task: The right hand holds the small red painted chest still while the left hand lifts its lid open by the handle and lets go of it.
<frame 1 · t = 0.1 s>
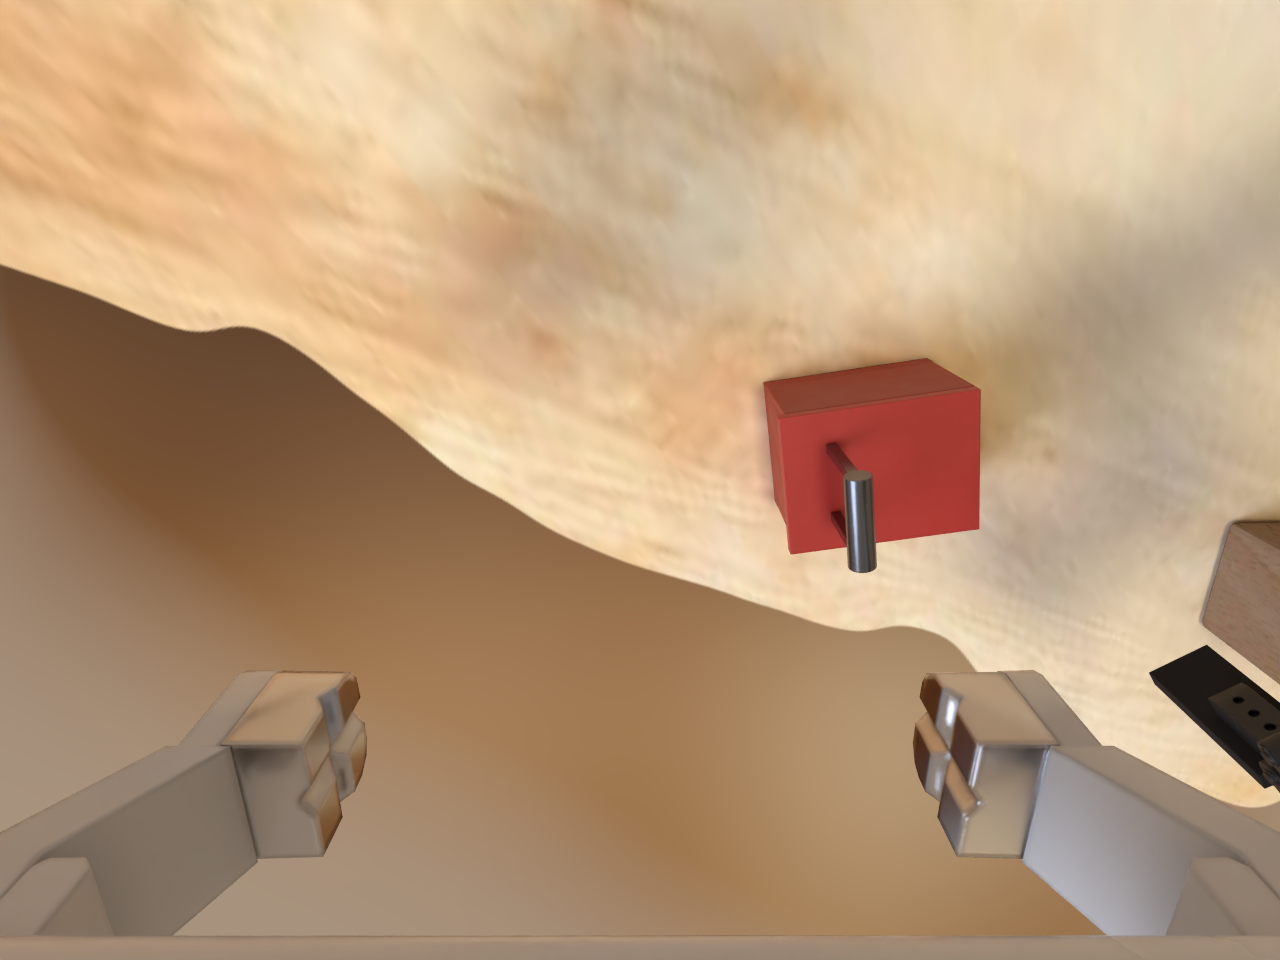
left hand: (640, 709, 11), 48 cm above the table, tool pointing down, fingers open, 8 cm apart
chest: (848, 432, 59), on the table
wooden block: (1269, 572, 64), on the table
lid: (897, 493, 47), point 13 cm above the table, hinge at 0.0°
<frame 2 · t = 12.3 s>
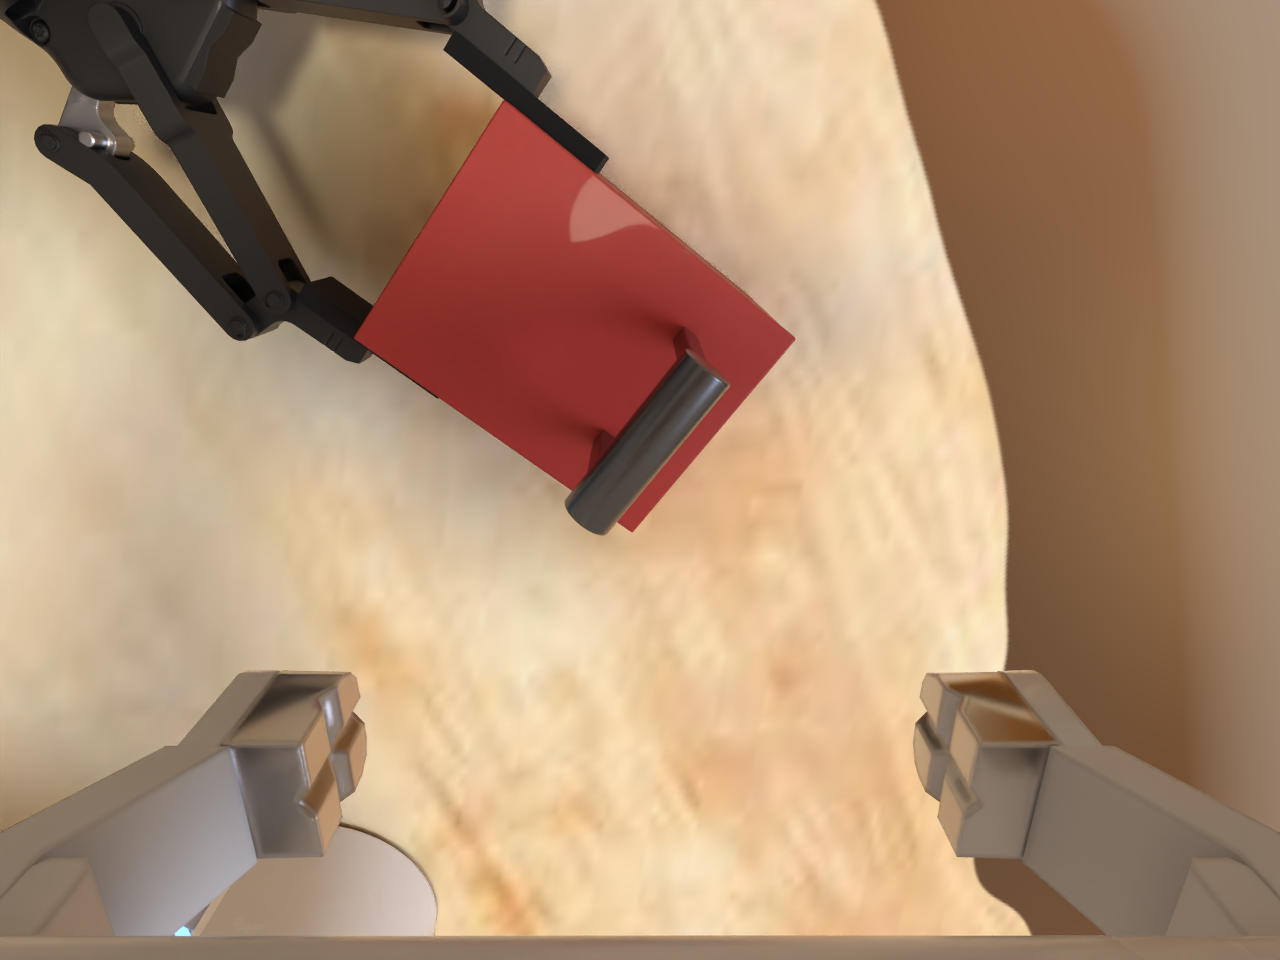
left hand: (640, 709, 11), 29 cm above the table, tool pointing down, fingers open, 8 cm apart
chest: (586, 299, 37), on the table, touching right hand
lid: (566, 356, 25), point 13 cm above the table, hinge at 0.0°
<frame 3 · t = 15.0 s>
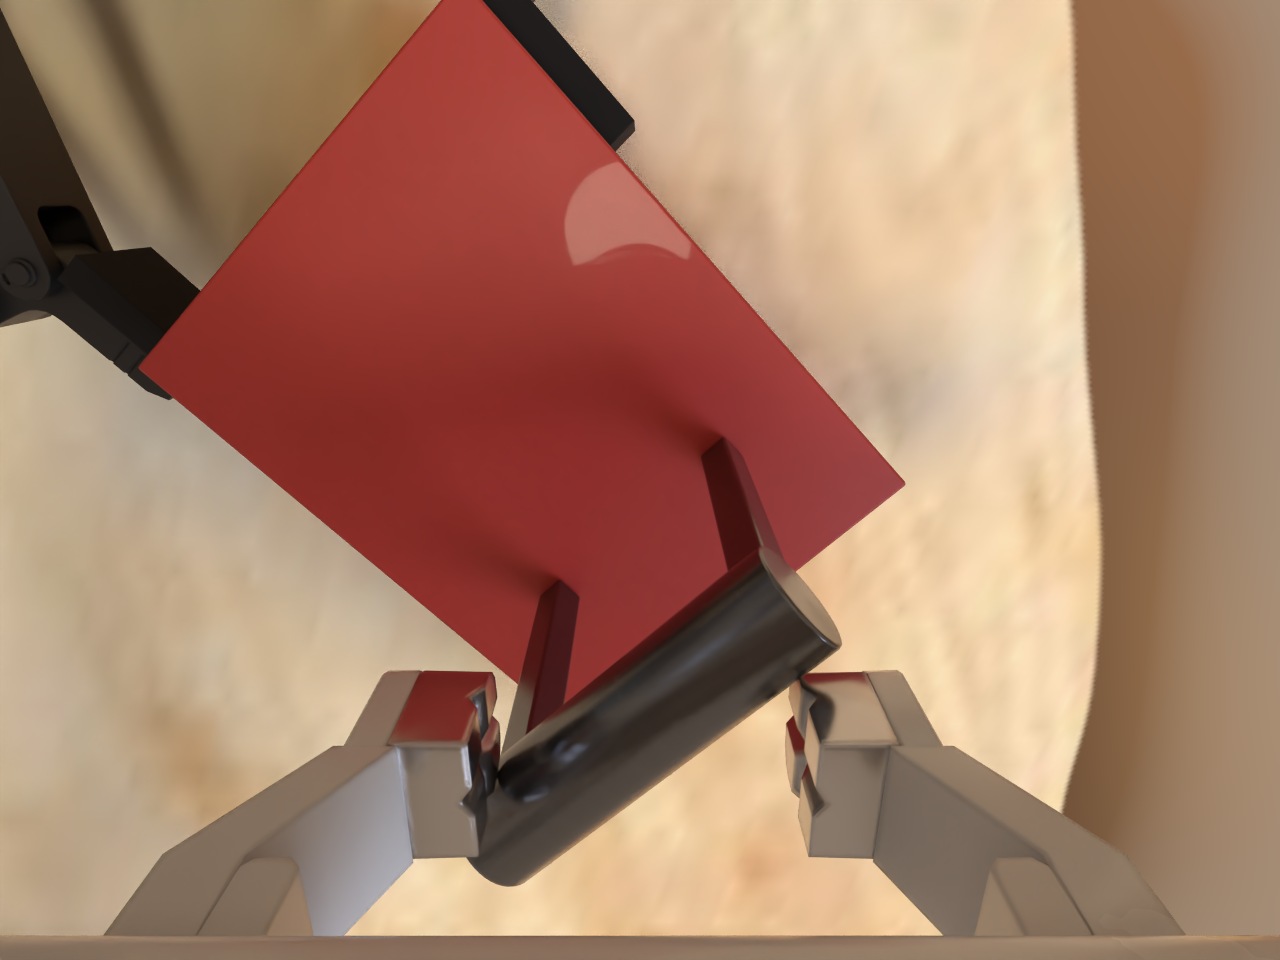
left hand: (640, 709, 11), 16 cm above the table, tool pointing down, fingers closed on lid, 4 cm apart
lid: (508, 483, 13), point 13 cm above the table, hinge at 0.1°, touching left hand
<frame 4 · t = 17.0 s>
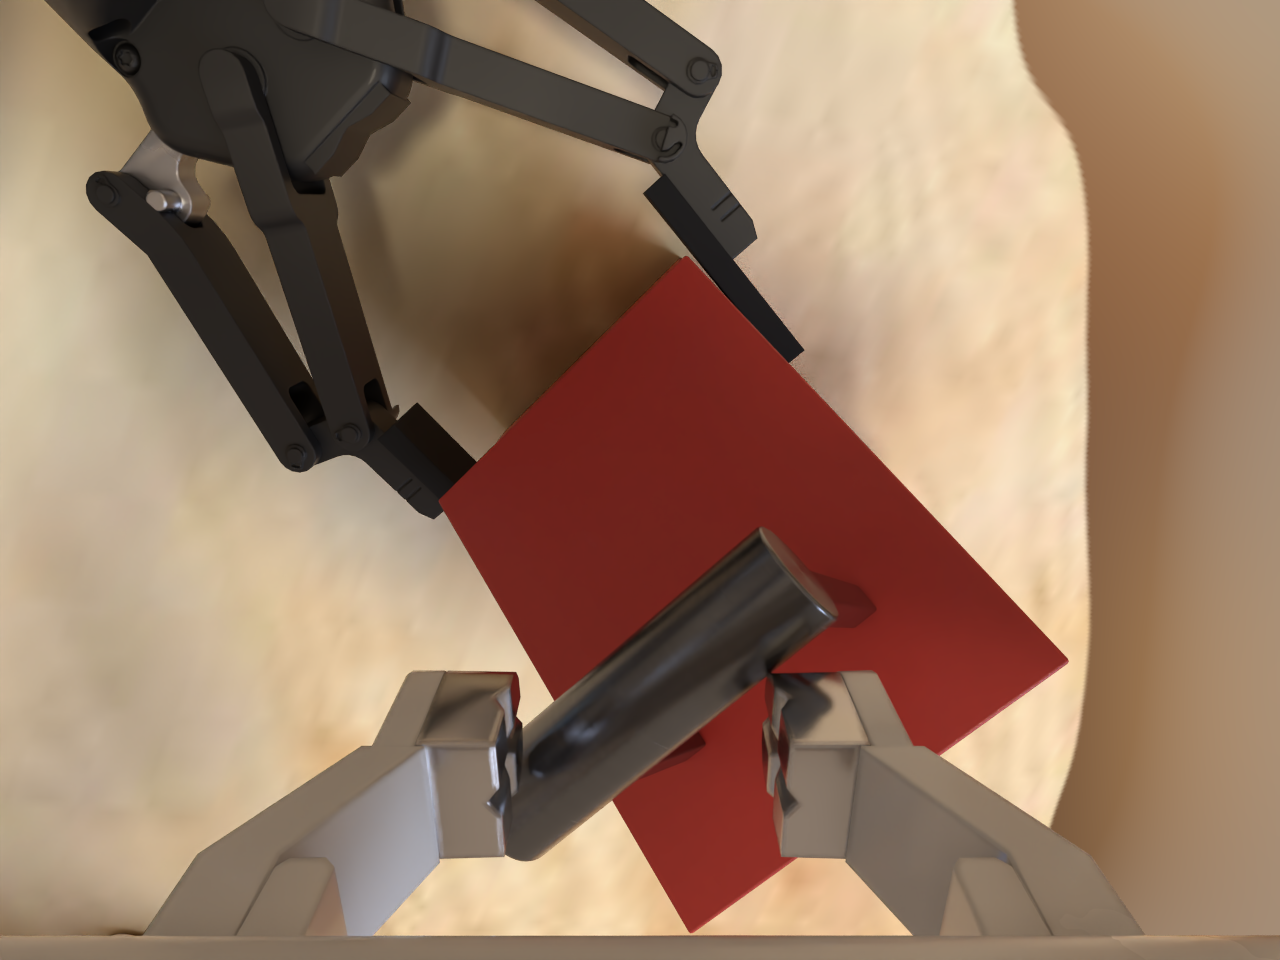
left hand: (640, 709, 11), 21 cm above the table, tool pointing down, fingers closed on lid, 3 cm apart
right hand: (654, 457, 25), fingers closed on chest, 10 cm apart
chest: (694, 455, 32), on the table, touching right hand
lid: (627, 551, 15), point 16 cm above the table, hinge at 37.1°, touching left hand
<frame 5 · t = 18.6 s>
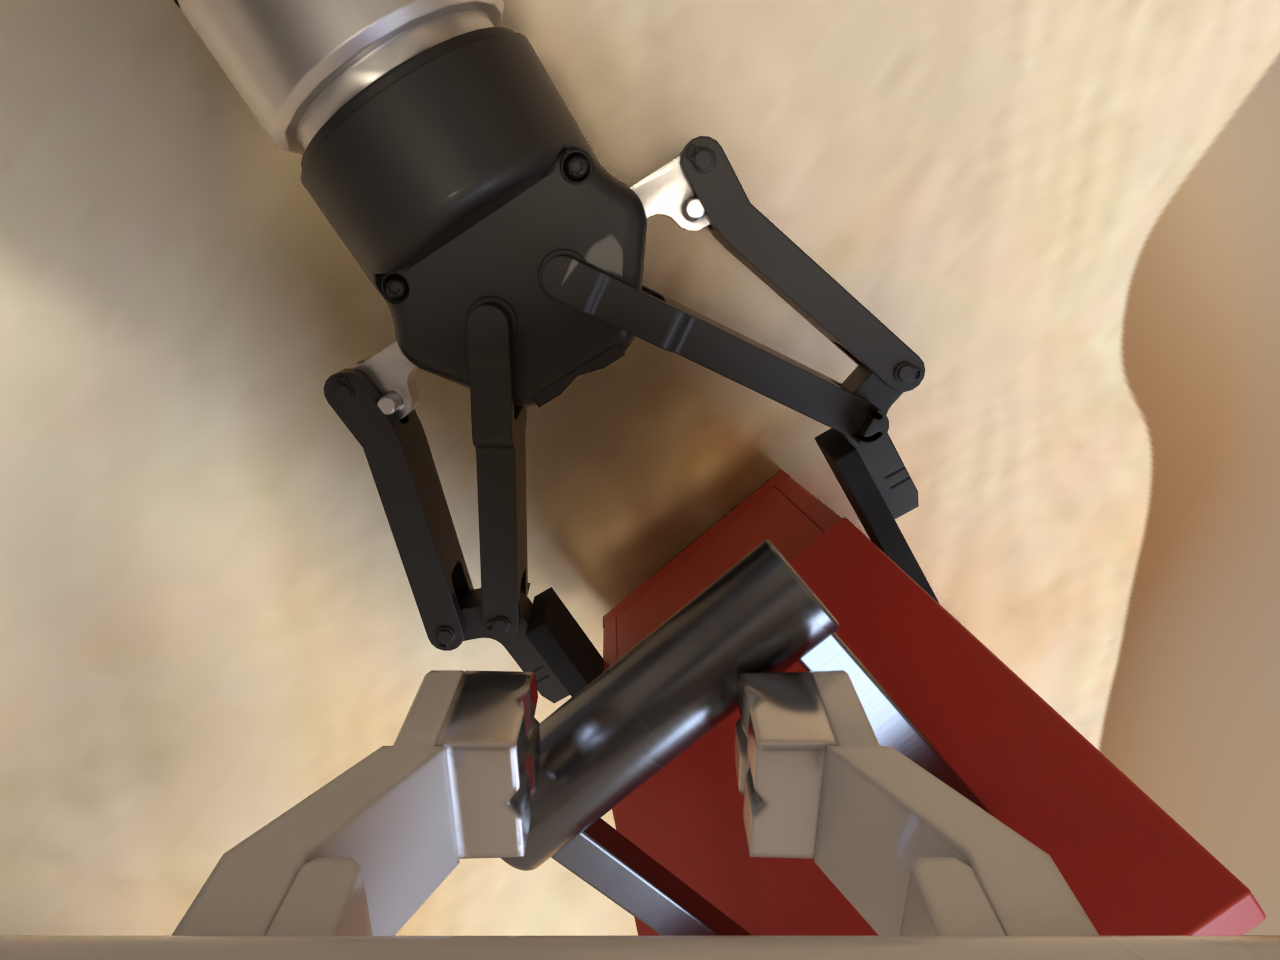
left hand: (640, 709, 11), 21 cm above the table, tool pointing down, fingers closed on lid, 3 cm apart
right hand: (771, 670, 27), fingers closed on chest, 11 cm apart
chest: (780, 646, 33), point 1 cm above the table, tilted 8°, touching right hand
lid: (715, 692, 16), point 17 cm above the table, hinge at 76.4°, touching left hand
when the right hand's fingers open (7 cm above the table, at t = 23.0 s): chest stays where it is, on the table.
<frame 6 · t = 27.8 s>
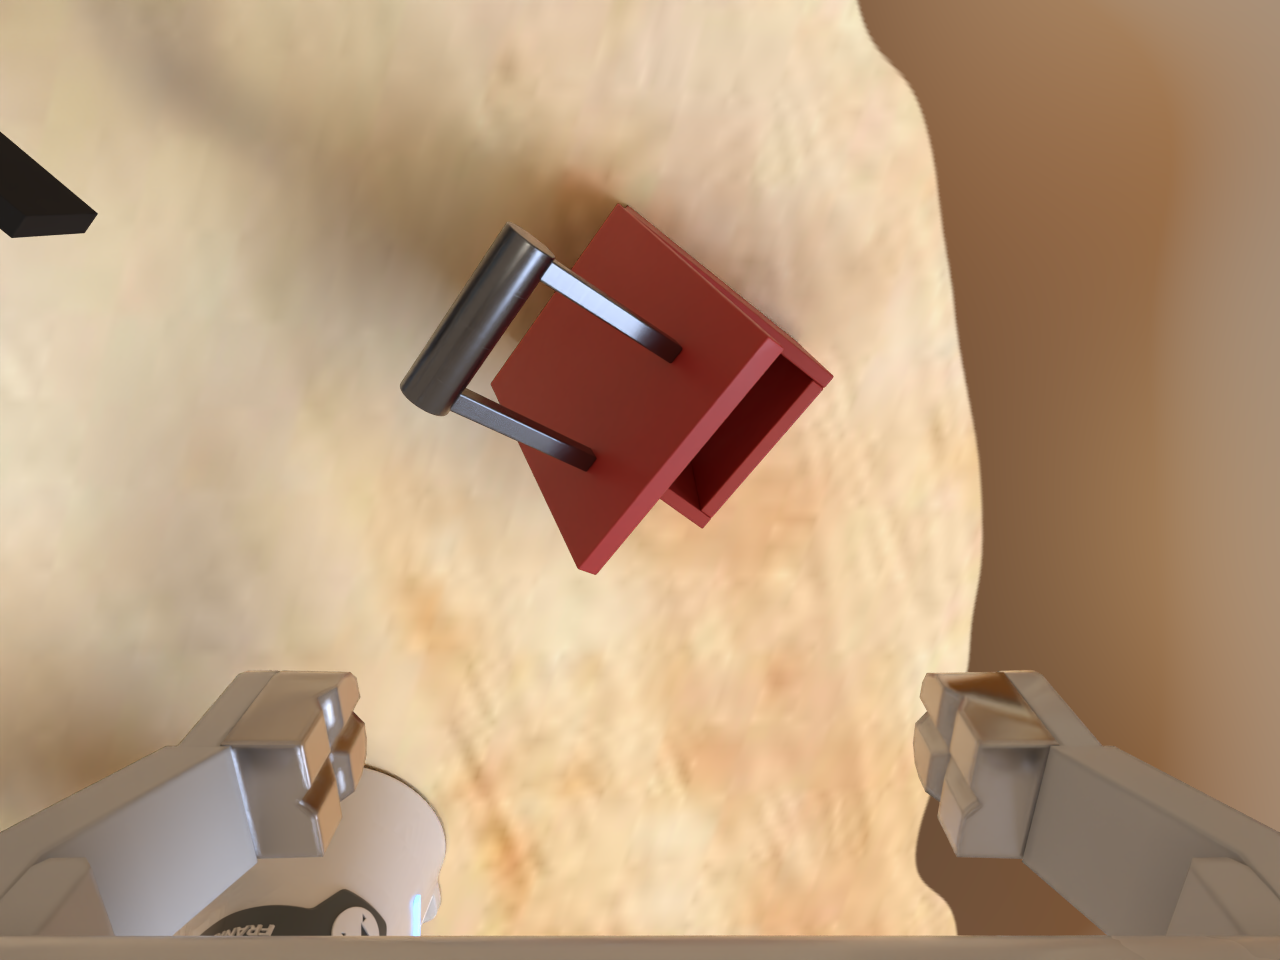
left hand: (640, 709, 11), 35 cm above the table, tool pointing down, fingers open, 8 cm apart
chest: (661, 346, 44), on the table
lid: (533, 326, 27), point 17 cm above the table, hinge at 61.9°
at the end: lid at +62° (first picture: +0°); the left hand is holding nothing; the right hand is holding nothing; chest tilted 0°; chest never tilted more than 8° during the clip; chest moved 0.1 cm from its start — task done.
